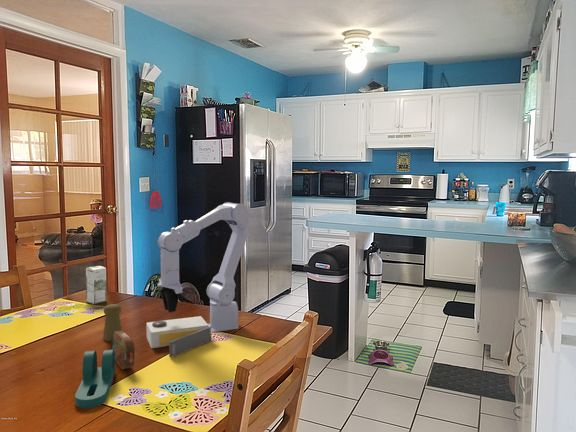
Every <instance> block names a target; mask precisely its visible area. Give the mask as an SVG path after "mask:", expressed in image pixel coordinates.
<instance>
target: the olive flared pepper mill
mask: <svg viewBox="0 0 576 432" xmlns="http://www.w3.org/2000/svg"><path fill="white" fill-rule="evenodd" d="M121 311H122V307H121V306H120V304H118V303H117V304H116V303H111V304H107V305H105V307H104V309H103V313H104V315H105V320H104V329H103V341H106V342H111V337H112V333H113V332H114V331H116V332H117V331H123V328H122V323H121V316H120V314H121V313H122V312H121Z"/></svg>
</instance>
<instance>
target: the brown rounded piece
mask: <svg viewBox="0 0 576 432" xmlns="http://www.w3.org/2000/svg"><path fill="white" fill-rule="evenodd" d="M110 350H114V352H115V364H116V365H117V366H118V367H119V368H120V369H121V370H126V369H130V368H133V366H134V365H135V351H136V348H135V341H133V339H132V337H131V336H129V335H128V334H127V333H126V332H125V331H124V330H122V331H117V332H116V331H114V332H113V333H112V337H111V341H110Z"/></svg>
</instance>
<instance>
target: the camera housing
mask: <svg viewBox="0 0 576 432" xmlns="http://www.w3.org/2000/svg"><path fill="white" fill-rule="evenodd" d="M208 324H209V323H207V321H205V319H204V318H203V317H202V316H201V315H199V316H193V317H192V316H191V317H190V316H189V317H183V318H182V317H181V318H175V319H165V320H157V321H156V320H155V321H149V322H146V340H147V342H148V344H149V347H150V348H151V349H156V348H163V347H169V342H170V341H172V340H175V339H178V338H180V337H183V336H186V335H188V334H191V333H194V332H196V331H199V330H202V329H204V328H207V327H209V325H208Z"/></svg>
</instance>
